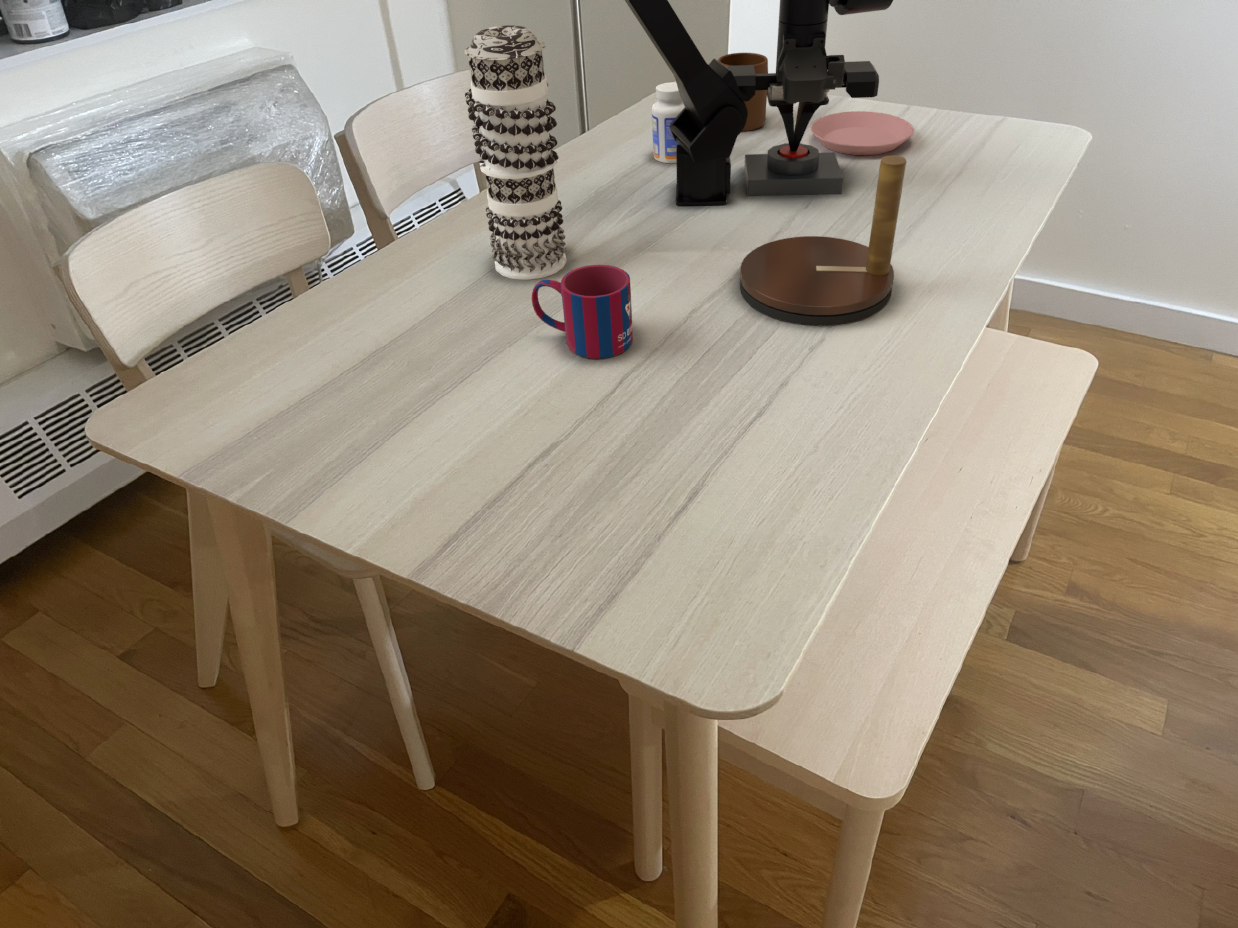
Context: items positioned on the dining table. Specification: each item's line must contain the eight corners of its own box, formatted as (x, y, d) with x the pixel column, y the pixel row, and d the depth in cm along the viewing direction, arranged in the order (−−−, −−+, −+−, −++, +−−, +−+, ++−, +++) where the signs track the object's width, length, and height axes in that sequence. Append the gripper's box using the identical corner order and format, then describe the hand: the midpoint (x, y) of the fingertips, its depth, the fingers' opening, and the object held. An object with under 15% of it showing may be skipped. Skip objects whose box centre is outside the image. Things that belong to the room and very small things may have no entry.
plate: (790, 147, 128) (791, 133, 126) (841, 118, 136) (842, 104, 134) (881, 167, 120) (883, 153, 119) (929, 136, 128) (931, 122, 127)
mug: (732, 145, 129) (734, 77, 123) (689, 136, 133) (689, 70, 127) (774, 120, 136) (778, 55, 130) (732, 112, 140) (734, 49, 134)
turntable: (736, 312, 90) (740, 191, 82) (743, 242, 102) (748, 130, 94) (899, 318, 88) (920, 193, 80) (886, 245, 100) (904, 130, 92)
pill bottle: (697, 153, 128) (698, 82, 121) (679, 166, 124) (678, 94, 118) (665, 147, 130) (663, 78, 124) (646, 160, 127) (643, 89, 120)
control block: (747, 196, 115) (748, 166, 113) (744, 170, 122) (745, 140, 119) (841, 194, 114) (844, 163, 112) (832, 167, 121) (836, 138, 119)
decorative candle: (482, 254, 106) (446, 27, 90) (555, 239, 108) (533, 15, 92) (502, 288, 99) (467, 49, 83) (580, 270, 102) (560, 35, 86)
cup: (618, 364, 86) (614, 301, 82) (526, 348, 89) (517, 287, 85) (642, 329, 91) (640, 268, 87) (554, 315, 94) (547, 256, 90)
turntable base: (743, 326, 90) (743, 318, 90) (736, 255, 103) (737, 247, 102) (903, 325, 89) (905, 316, 88) (878, 252, 101) (879, 244, 101)
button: (779, 168, 115) (780, 155, 114) (777, 158, 118) (778, 145, 117) (807, 168, 115) (809, 154, 114) (805, 157, 118) (806, 144, 117)
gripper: (726, 40, 100) (722, 176, 110) (895, 34, 99) (876, 172, 108) (723, 15, 109) (720, 143, 118) (879, 9, 107) (862, 139, 117)
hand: (793, 150), depth 115 cm, fingers closed, pressing on button
